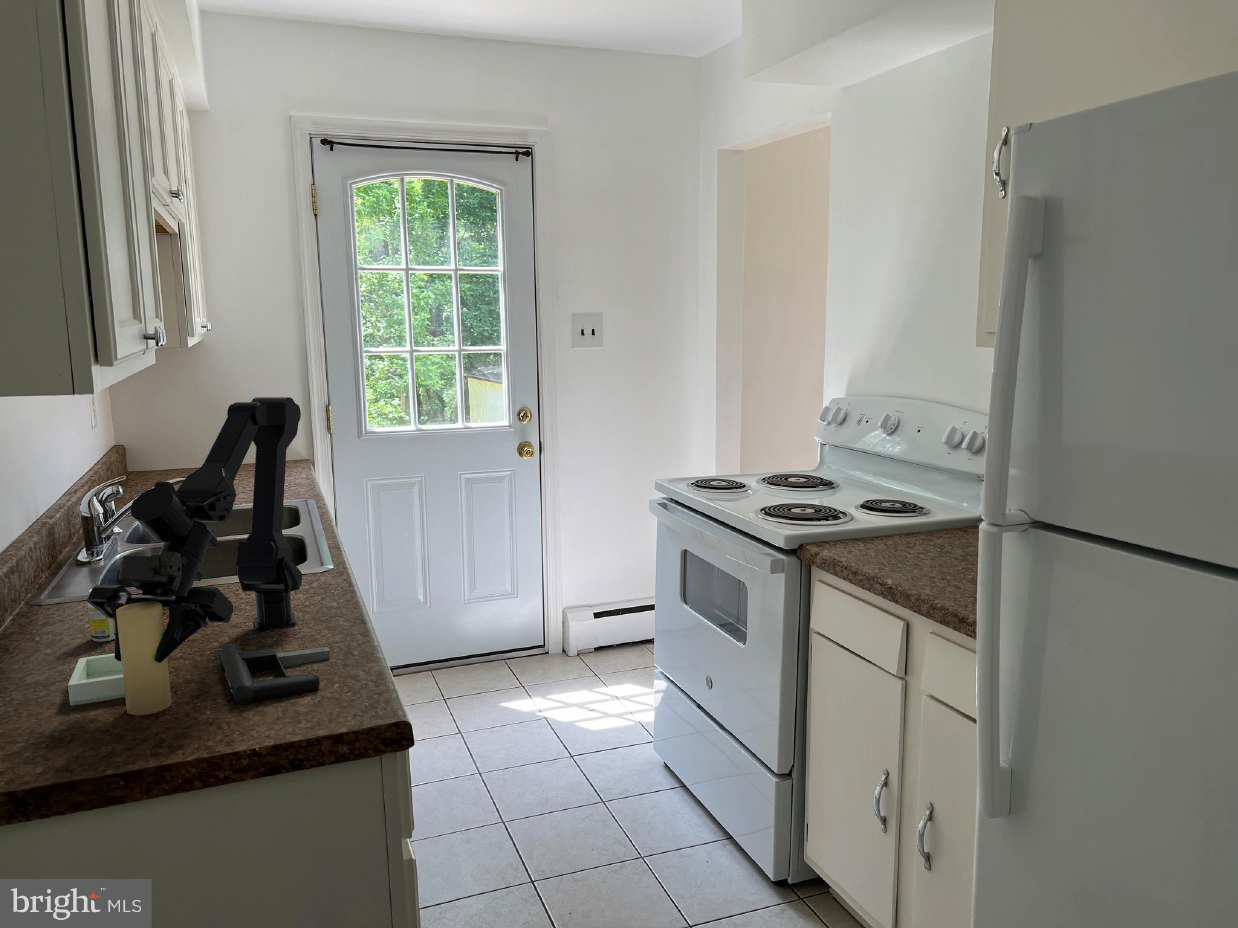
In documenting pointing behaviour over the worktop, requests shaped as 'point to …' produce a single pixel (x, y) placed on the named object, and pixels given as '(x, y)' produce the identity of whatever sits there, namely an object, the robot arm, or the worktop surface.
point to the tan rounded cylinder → (143, 658)
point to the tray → (96, 680)
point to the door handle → (267, 660)
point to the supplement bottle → (100, 625)
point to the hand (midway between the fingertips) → (137, 660)
